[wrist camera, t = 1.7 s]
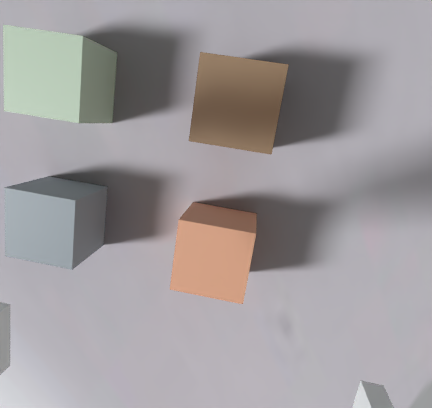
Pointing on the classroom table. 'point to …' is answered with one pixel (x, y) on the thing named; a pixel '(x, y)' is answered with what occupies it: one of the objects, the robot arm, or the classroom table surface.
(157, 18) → the classroom table surface
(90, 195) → the slate block
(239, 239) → the terracotta block
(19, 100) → the sage block
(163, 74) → the classroom table surface
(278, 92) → the walnut block
